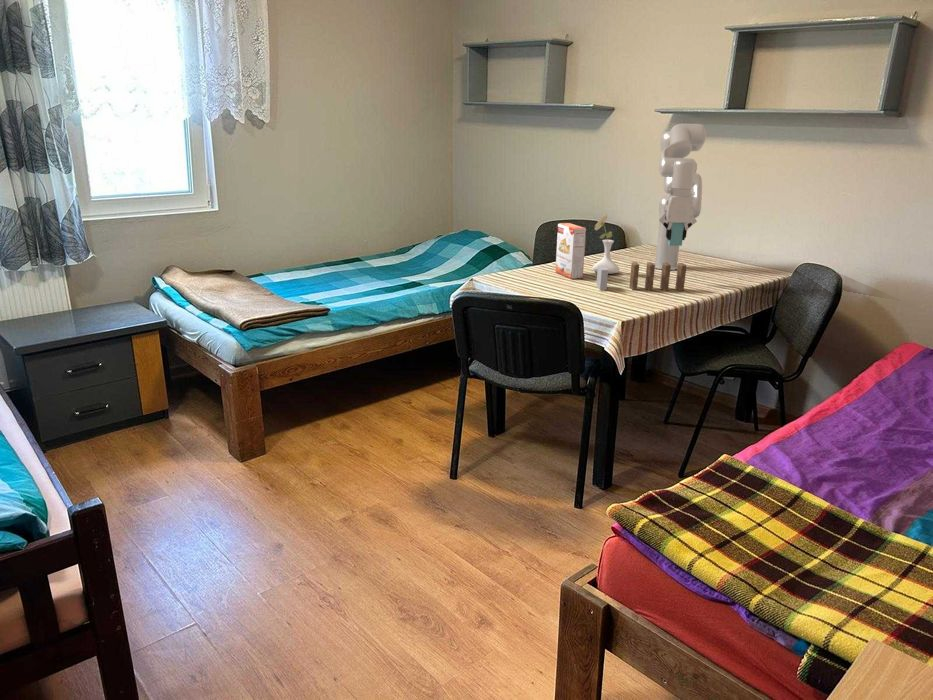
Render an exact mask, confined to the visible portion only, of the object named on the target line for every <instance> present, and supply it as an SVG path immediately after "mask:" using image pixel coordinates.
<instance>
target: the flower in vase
mask: <svg viewBox="0 0 933 700" xmlns="http://www.w3.org/2000/svg"><path fill="white" fill-rule="evenodd" d="M607 218H608V215H607V214H603V215H602V216H601V217H600V219H598V220H597V223H596V224H595V225H594V229H593V230H595V231H598V230H599V229H600V228H602V227H603V228H604V231H605V232H604V233H602V234H601V235H600V236H599V239H600V240H601V239H602V243H603V246H604V256H603V258H602V259H601V260H599V261H598V262H596V263H595V264H594V265H593V266H592V268H591V269H592V270H593V272H596V273H597V271H598V266H605V267H606V268H607V269H608V275H611V274H616V273H619V271H620V267H619V265H617V264H616V263H615V262H614V261H613V259H611V249H612V246H613V244H614V242H615V240H612V239H609V238H611V237H613V233H612V231H609V232H607V230H606V226H605V223H606V222H607ZM605 237H606V239H604V238H605Z"/></svg>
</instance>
